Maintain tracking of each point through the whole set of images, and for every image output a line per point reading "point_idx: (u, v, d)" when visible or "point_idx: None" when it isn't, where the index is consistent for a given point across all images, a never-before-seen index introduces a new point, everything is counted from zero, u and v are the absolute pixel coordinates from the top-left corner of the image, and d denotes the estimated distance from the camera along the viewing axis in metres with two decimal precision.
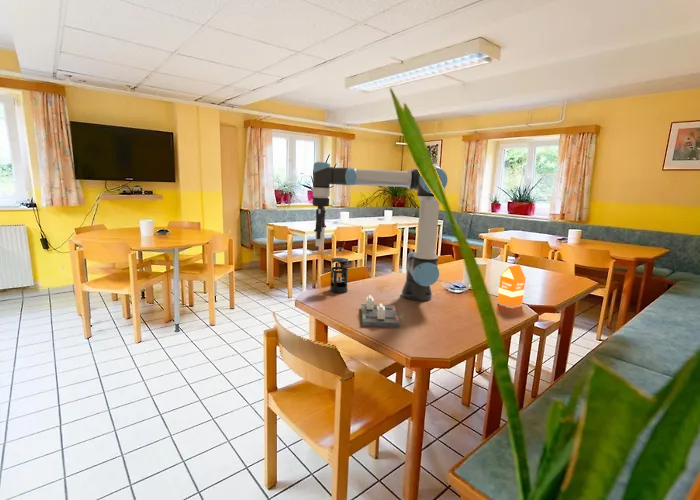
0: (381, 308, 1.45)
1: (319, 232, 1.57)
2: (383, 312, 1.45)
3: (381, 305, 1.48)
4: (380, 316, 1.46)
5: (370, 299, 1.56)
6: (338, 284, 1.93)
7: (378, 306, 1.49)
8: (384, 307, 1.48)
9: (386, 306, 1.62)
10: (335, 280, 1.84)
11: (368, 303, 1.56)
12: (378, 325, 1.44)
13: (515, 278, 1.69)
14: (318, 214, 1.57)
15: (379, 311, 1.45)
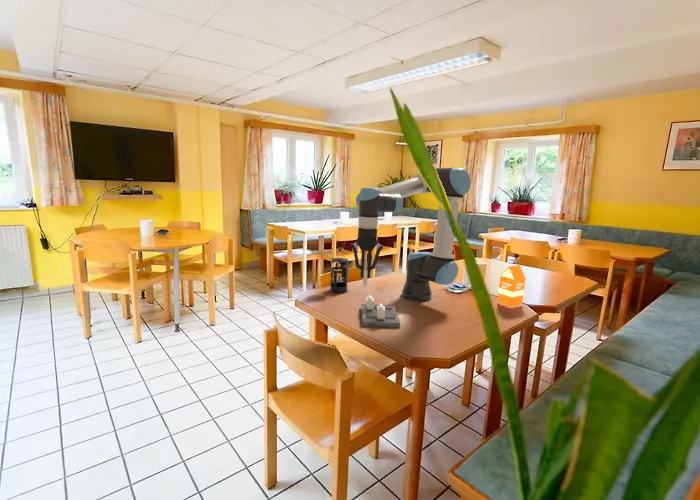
0: (381, 308, 1.45)
1: None
2: (383, 312, 1.45)
3: (381, 305, 1.48)
4: (380, 316, 1.46)
5: (370, 299, 1.56)
6: (338, 284, 1.93)
7: (378, 306, 1.49)
8: (384, 307, 1.48)
9: (386, 306, 1.62)
10: (335, 280, 1.84)
11: (368, 303, 1.56)
12: (378, 325, 1.44)
13: (515, 278, 1.69)
14: None
15: (379, 311, 1.45)
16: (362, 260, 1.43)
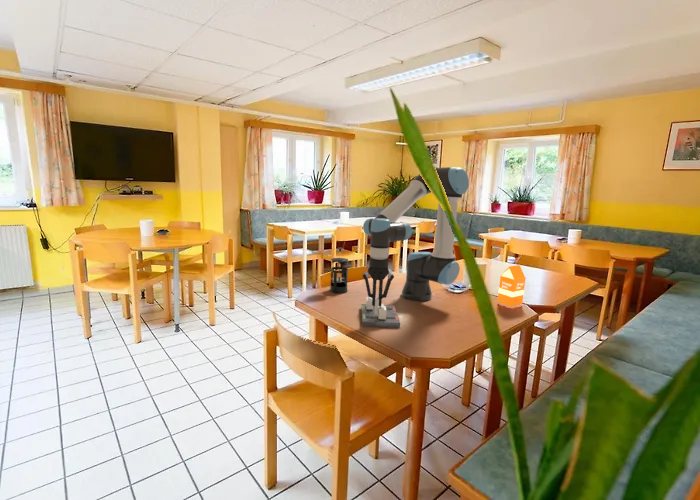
0: (382, 308, 1.45)
1: (372, 298, 1.47)
2: (384, 312, 1.45)
3: (382, 305, 1.48)
4: (382, 316, 1.46)
5: (370, 299, 1.56)
6: (338, 284, 1.93)
7: (379, 306, 1.49)
8: (385, 307, 1.48)
9: (386, 306, 1.62)
10: (335, 280, 1.84)
11: (368, 303, 1.56)
12: (378, 325, 1.44)
13: (515, 278, 1.69)
14: None
15: (380, 311, 1.45)
16: (373, 289, 1.45)
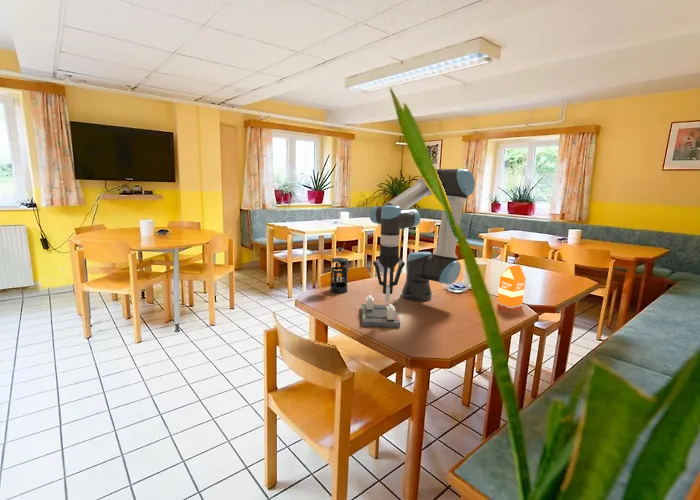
0: (391, 308, 1.45)
1: (383, 286, 1.46)
2: (393, 312, 1.45)
3: (391, 305, 1.48)
4: (390, 316, 1.46)
5: (370, 299, 1.56)
6: (338, 284, 1.93)
7: (388, 306, 1.49)
8: None
9: (386, 306, 1.62)
10: (335, 280, 1.84)
11: (368, 303, 1.56)
12: (378, 325, 1.44)
13: (515, 278, 1.69)
14: None
15: (389, 311, 1.45)
16: (384, 277, 1.44)
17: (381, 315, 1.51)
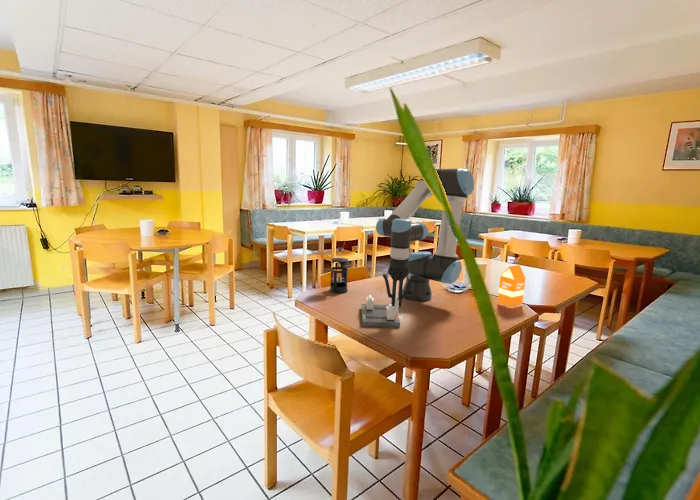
0: (391, 308, 1.45)
1: (392, 299, 1.46)
2: (393, 312, 1.45)
3: (391, 305, 1.48)
4: (390, 316, 1.46)
5: (370, 299, 1.56)
6: (338, 284, 1.93)
7: (387, 306, 1.49)
8: (393, 307, 1.48)
9: None
10: (335, 280, 1.84)
11: (368, 303, 1.56)
12: (378, 325, 1.44)
13: (515, 278, 1.69)
14: None
15: (389, 311, 1.45)
16: (394, 289, 1.45)
17: (381, 315, 1.51)
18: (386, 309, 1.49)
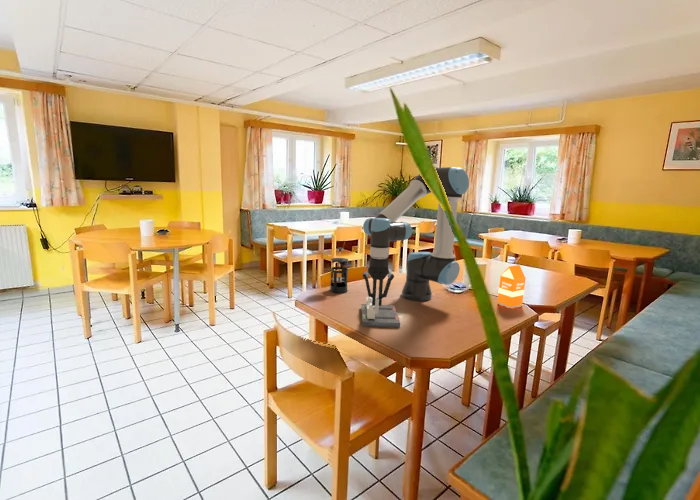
0: (371, 308, 1.45)
1: (372, 298, 1.46)
2: (373, 312, 1.45)
3: (371, 305, 1.47)
4: (370, 316, 1.46)
5: (370, 299, 1.56)
6: (338, 284, 1.93)
7: (368, 306, 1.49)
8: (374, 307, 1.48)
9: (386, 306, 1.62)
10: (335, 280, 1.84)
11: (368, 303, 1.56)
12: (378, 325, 1.44)
13: (515, 278, 1.69)
14: None
15: (369, 311, 1.45)
16: (374, 289, 1.45)
17: (381, 315, 1.51)
18: (367, 308, 1.49)
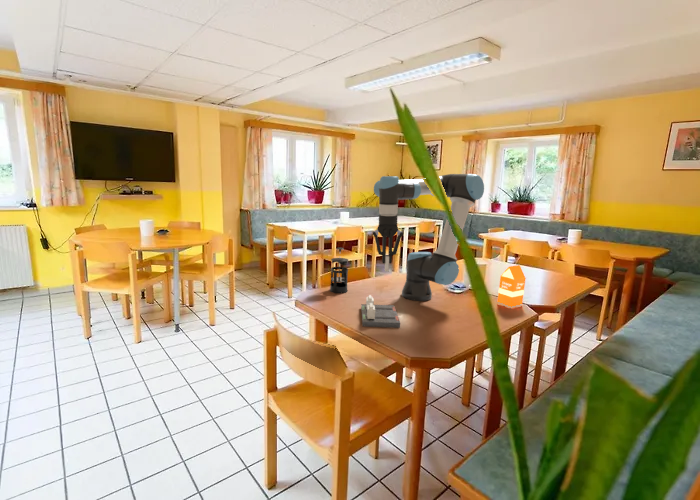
0: (371, 308, 1.45)
1: (382, 256, 1.50)
2: (373, 312, 1.45)
3: (371, 305, 1.47)
4: (370, 316, 1.46)
5: (370, 299, 1.56)
6: (338, 284, 1.93)
7: (368, 306, 1.49)
8: (374, 307, 1.48)
9: (386, 306, 1.62)
10: (335, 280, 1.84)
11: (368, 303, 1.56)
12: (378, 325, 1.44)
13: (515, 278, 1.69)
14: None
15: (369, 311, 1.45)
16: (384, 246, 1.48)
17: (381, 315, 1.51)
18: (367, 308, 1.49)
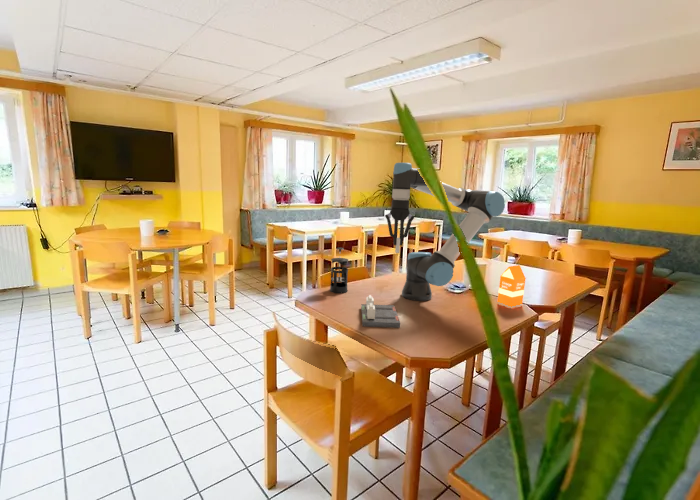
0: (371, 308, 1.45)
1: None
2: (373, 312, 1.45)
3: (371, 305, 1.47)
4: (370, 316, 1.46)
5: (370, 299, 1.56)
6: (338, 284, 1.93)
7: (368, 306, 1.49)
8: (374, 307, 1.48)
9: (386, 306, 1.62)
10: (335, 280, 1.84)
11: (368, 303, 1.56)
12: (378, 325, 1.44)
13: (515, 278, 1.69)
14: (387, 220, 1.58)
15: (369, 311, 1.45)
16: (395, 229, 1.58)
17: (381, 315, 1.51)
18: (367, 308, 1.49)
